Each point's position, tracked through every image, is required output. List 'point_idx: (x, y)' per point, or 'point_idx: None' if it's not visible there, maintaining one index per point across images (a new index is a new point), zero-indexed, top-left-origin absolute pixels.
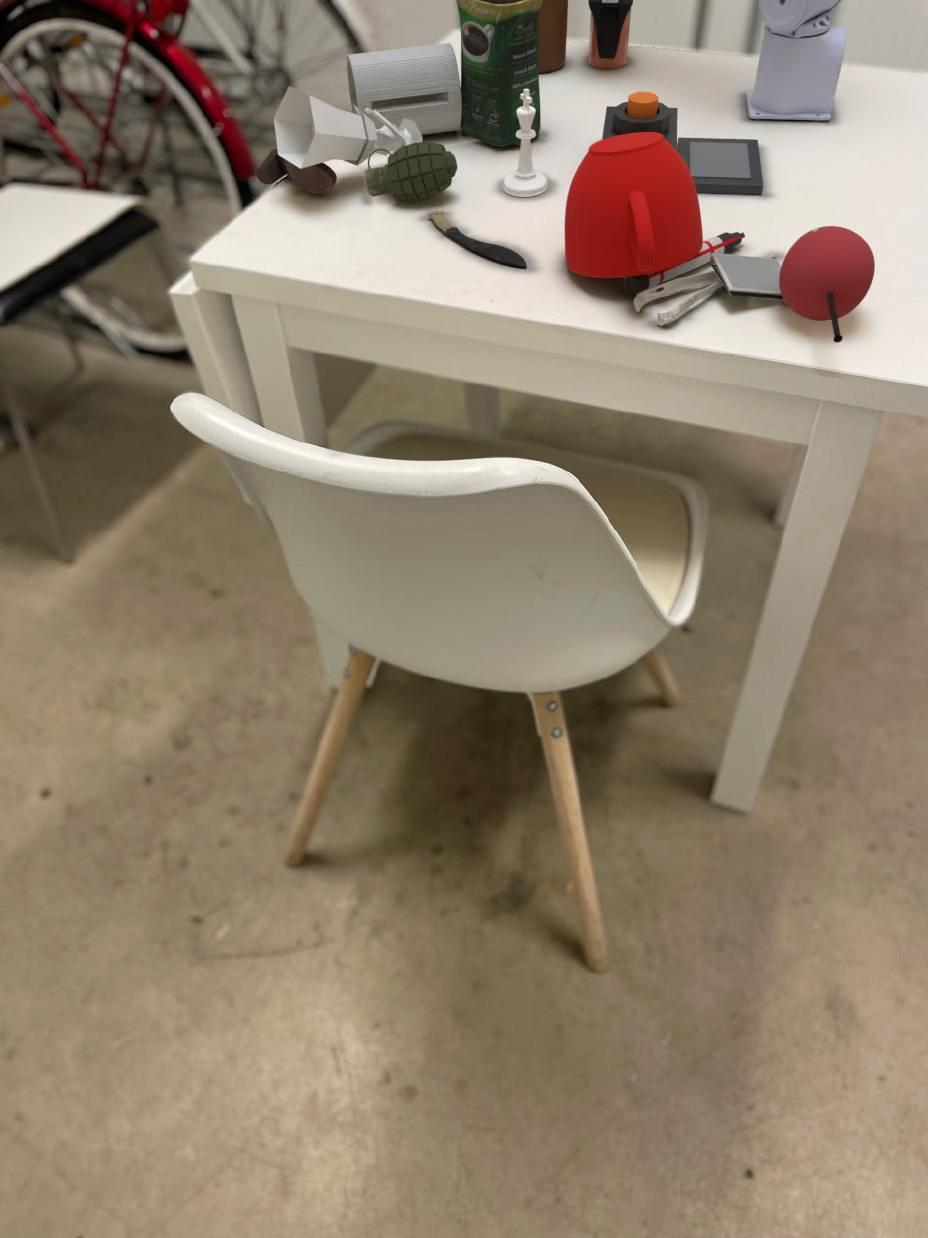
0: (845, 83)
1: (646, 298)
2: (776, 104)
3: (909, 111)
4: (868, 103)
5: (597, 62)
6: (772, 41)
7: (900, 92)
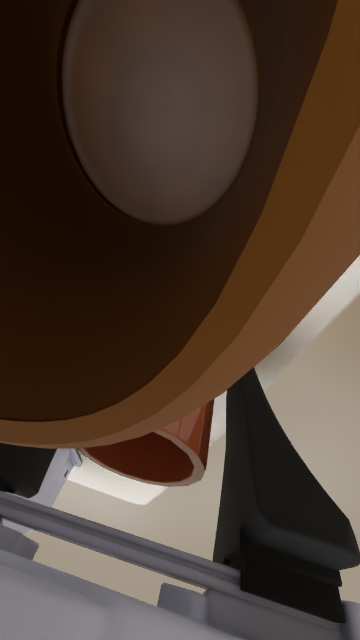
0: (116, 480)
1: None
2: None
3: (70, 479)
4: (77, 473)
5: None
6: None
7: (104, 489)
